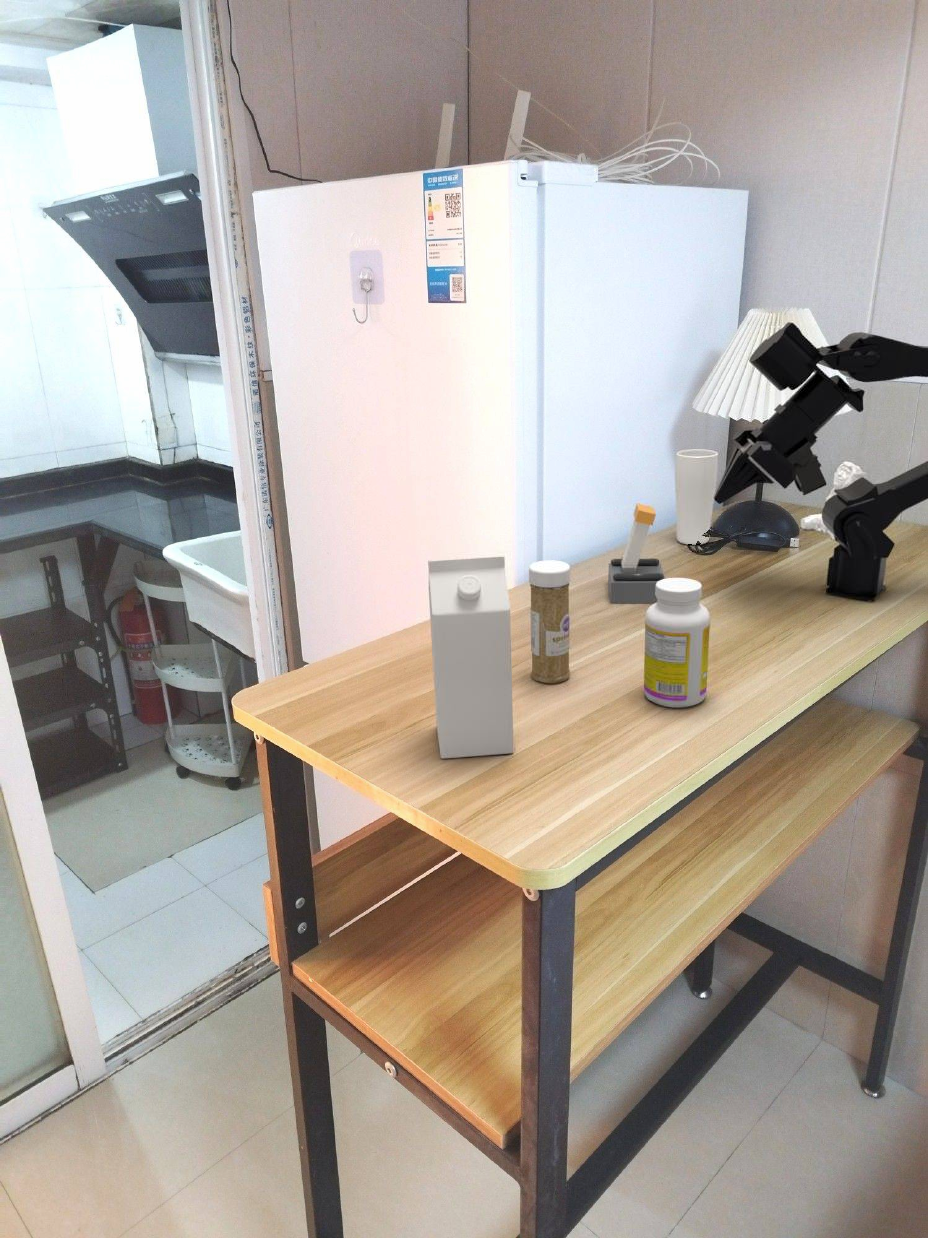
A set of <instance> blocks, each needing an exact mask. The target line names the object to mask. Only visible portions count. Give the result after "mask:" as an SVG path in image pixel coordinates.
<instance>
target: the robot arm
mask: <svg viewBox="0 0 928 1238" xmlns="http://www.w3.org/2000/svg"><path fill="white" fill-rule="evenodd" d="M748 362H749V363H750V364H751V365H752V366H753V367H754V368H755V369H756V370H758V372H760V374H762V375H763V377H764V378H766V379H767V381H768V382H769V383H771V384H772V385H773V386H774V387H775V388H776V389H777V390H778V391H780V392H781V391H784V390H786V389H789V390H790V391H794V390H796V389H798V390H796V391H795V392H794V393H793V394H792V396H790V397H789V398H788V400H786V402H784V404H781V403H779V404H778V405H777V406H776V407H775V408H774V409H773V410H774V411H775V412H774V413H773V414H772V415H771V417H769V419H767V421H766V422H765V423H763V425H761V427H759V428H758V427H755V428H753V427H751V426H749V427H748V426H745V427H740V428H739V430H737V431H736V433H734V434H733V436H731V437H732V439H733V440H734V441H735V442H736V443H738V444H739V445H740V446H741V448H739V447H738V446H737V445H734V447H733V451H732V453H731V456H730V458H729V461H728V462H727V465H726V468H725V470H724V472H723V475H722V478H721V480H720V482H719V485H718V487H717V489H716V490H715V496H714V501H715V502H716V503H717V504H718V505H721V504H723V503H724V502H726V501H728V500H729V499H732V497H734V496H736V495H737V494H739V493H741V492H743V491H744V490H746V489H748V488H750V487H752V486H753V485H755V484H770V485H773V484H775V482H774V481H773V479H774V480H775V481H776V482H777V483H778V484H779V485H780V487H783V489H784V490H786V489H787V488H789V486H790V485H791V484H792V483H793V482H794V485H795V486H796V488H797V490H798V491H799V492H800V493H802V496H806V495H808V494H811V493H812V492H815V491H817V490H819V489H821V488H823V487H825V486H827V481H826V478H825V476H824V474H823V472H822V470H821V467H822V464H821V463H820V461H819V459H818V458H819V457H818V456H817V454H814V453H813V451H812V446H814V445H815V444H816V443H817V439H818V436H817V435H816V434H817V433H819V431H820V430H821V429H822V428H823V427H825V426H826V424H827V423H829V421H830V420H832V419H833V417H835V416H836V415H837V414H838V413H839V412H840V411H841V410H842V409H843V408H844V407H845V406H846V405H847V406H848V407H850V408H851V409H852V410H854V411H856V412H858V413H862V412H863V411H864V395H865V390H864V389H862V388H860V387H859V388H858V387H857V388H852V387H851V385H849V384H848V383H847V382H846V381H845V380H844V379H843V378H842V377H841V376H840V375H842V376H844V377H847V378H850V379H852V380H854V381H857V382H863V383H875V382H885V381H894V380H899V379H904V378H914V377H920V378H928V346H926V345H925V346H924V345H914V344H910V343H908V342H904V341H900V340H896V339H893V338H890V337H885V336H882V335H876V334H873V333H872V334H871V333H868V332H861V331H860V332H859V331H858V332H857V331H856V332H851V333H849V334H848V335H846V336H845V337H843V339H841V340H840V342H839V343H836V344H832V345H827V346H820V347H816V346H815V345H814V344H813V343H812V342H811V341H810V340H809V339H808V338H807V337H806V336H805V335H804V334H803V333H802V331H801V329H800V328H799V327H798V326H797V325H796V324H795V323H794V322H789V321H788V322H786V324H784V325H783V327H782V328H780V329H778V330H777V331H776V332H774V333H773V334H772V335H770V336H769V338H766V339H764V340H763V341H761V344H759V346H757V347H756V349H755V350H754V351H753V353H752V354H751V356H750V357H749V359H748ZM818 365H820V366H823V367H826V368H828V369H830V370H835V371H838V372H839V373H840V375H838V374H837V375H836V374H835V375H832V376H831V377H829V376H828V375H827V374H826V373H825V372H824V371H823V370H822V369H821V368H820V367H819V366H818ZM771 478H773V479H771ZM834 492H835V493H836V495H834V496H832V497H831V498H829V499H828V500H827V501H826V500H825V502H824V505H823V508H822V511H821V514H822V520H823V523H824V525H825V526H826V527H827V529H828V530H829V531H830V532H831V533H832V534H833V535H834V538H835V540H834V541H835V542H836V543H839V544H838V545H837V546H836V547H834V548H833V555H831V557H829V558H828V565H827V574H826V583H825V584H826V586H827V588H826V589H825V594H827V595H832V596H839V597H845V598H851V599H857V600H860V601H861V600H863V601H867V602H868V601H869V602H874V601H875V600H877V599H878V598H879V597H880V596H881V595H882V594H883V593H884V592H885V591H886V589H887V585H886V584H884V582H885V581H884V580H885V574H886V573H885V572H886V566H887V559H888V558H889V557H890V555H891V553H892V551H893V549H894V548H895V542H894V541H893V540H892V539H891V538H890V537H889V536H888V535H887V534H886V533H885V532H884V531H885V530H886V529H888V528H889V527H890V526H891V524H892V523H893V522H895V520H896V519H897V518H898V517H899V516H900V515H901V514H902V513H903V512H905V511H906V510H908V509H910V508H912V507H914V506H916V505H919V504H921V503H922V502H924V501H926V500H928V460H927V461H925V462H923V463H921V464H918V465H917V466H915V467H913V468H911V469H909V470H907V471H905V472H902V473H901V474H899V475H896V476H894V477H893V478H891V479H888V480H887V481H883V482H880V483H872V482H871V481H869V480H868V479H867V478H866V479H865V478H864V477H862V478H860V479H858V480H856V481H855V482H853V483H852V484H850V485H849V486H847V487H845V488H842V489H836V490H834Z"/></svg>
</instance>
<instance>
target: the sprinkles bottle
mask: <svg viewBox="0 0 928 1238" xmlns="http://www.w3.org/2000/svg"><path fill="white" fill-rule="evenodd" d="M528 582H529V583H530V584H529V587H530V610H529V611H530V651H531V672H530V675H531V677H532V678H533V680H534V681H536V682H539V683H545V684H557V683H561V682H564V681H566V680H567V679H569V678H570V676H571V671H570V648H571V647H570V643H571V642H570V639H571V638H570V633H571V632H570V607H569V606H570V604H569V603H570V602H569V601H570V599H569V597H570V595H569V594H570V593H569V592H570V582H571V566H570V565H569V564H568V563H567V562H564V561H560V560H553V559H552V560H539V561H535V562H533V563H531V564H530V565H529V568H528Z"/></svg>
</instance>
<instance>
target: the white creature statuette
mask: <svg viewBox="0 0 928 1238" xmlns="http://www.w3.org/2000/svg"><path fill="white" fill-rule="evenodd" d="M833 474H834V476H833V480H832V481H833V487H832V489H831V490H830V493H829V495H828V496H826V498H825V502H826V501H827V500H828V499H829V498H831V497H832V496H834V495H836V493H835V492H834V490H836V489H842V488H845V487H847V486H849V485H850V484H852V483H853V482H855V481H856V480H858V479H860V478H862V477H864V478H865V479H867V476H868V472H866V471H865V472H864V471H863V470H862V469H861V467H860V466H859V465H856V464H854V463H853V462H851V461H843V462H842V463H841V464H840V465H839V466H838V467H837V469H836V472H834V473H833ZM800 528H802V530H805V531H806V530H807V531H813V530H814V531H817V532H820V533H822V534H825V533H827V535H829V536H830V538H831V539H832V540H833V541H835V538H834V535H833V534H832V533H831V532H830V531H829V530H828V529H827V527H826V526H825V525H824V523H823V520H822V513H817V514H809V515H807V516H806V517H802V518H801V519H800Z"/></svg>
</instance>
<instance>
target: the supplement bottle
mask: <svg viewBox="0 0 928 1238" xmlns="http://www.w3.org/2000/svg"><path fill="white" fill-rule="evenodd" d="M655 595H656V598H657V599H658V600H657V603H652V604H651V605H650V606H649V607H648V608H647V611H646V612H645V617H644V659H643V660H644V665H643V666H644V668H643V692H644V696H645V697H646V698H647V699H648V700H649V701H650V702H651V703H654V704H657V705H660V706H662V707H667V708H672V709H673V708H677V709H678V708H688V707H693V706H696V705H698V704H700V703H701V702H702V701H703V700H704V699H705V697H706V695H707V689H708V686H707V685H708V668H709V646H710V644H709V643H710V631H711V630H710V628H711V616H710V612H709V611H708V609H707V608H706V607H705V605H703V604H701V603H700V600H701V598H702V595H703V586H702V583H701V582H700V581H698V580H695V579H692V578H687V577H669V578H665V579H663V580H660V581H658V582H657V583H656V590H655Z"/></svg>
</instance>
